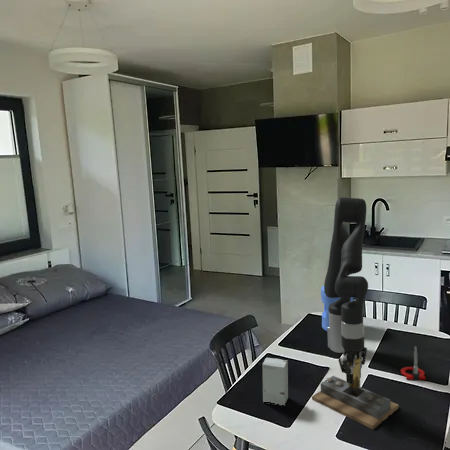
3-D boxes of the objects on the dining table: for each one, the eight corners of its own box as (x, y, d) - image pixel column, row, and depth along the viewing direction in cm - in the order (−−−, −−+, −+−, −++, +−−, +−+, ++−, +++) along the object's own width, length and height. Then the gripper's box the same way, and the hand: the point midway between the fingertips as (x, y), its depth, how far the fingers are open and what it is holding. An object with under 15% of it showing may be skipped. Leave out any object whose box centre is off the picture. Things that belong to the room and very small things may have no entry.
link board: (312, 399, 150) (311, 385, 150) (338, 382, 160) (338, 369, 160) (372, 429, 132) (372, 414, 131) (398, 407, 142) (398, 393, 141)
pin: (344, 385, 145) (343, 358, 144) (352, 379, 148) (351, 353, 147) (356, 390, 142) (355, 363, 140) (364, 384, 145) (363, 358, 143)
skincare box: (263, 403, 150) (260, 364, 148) (267, 394, 156) (265, 356, 154) (286, 406, 147) (284, 367, 145) (289, 397, 153) (287, 359, 151)
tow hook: (398, 369, 168) (404, 380, 159) (398, 338, 166) (404, 347, 157) (420, 369, 166) (428, 380, 157) (420, 338, 165) (428, 347, 156)
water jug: (359, 326, 210) (358, 272, 206) (345, 337, 199) (343, 280, 194) (331, 319, 221) (330, 268, 216) (316, 329, 209) (314, 275, 205)
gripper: (354, 324, 150) (355, 369, 152) (330, 337, 141) (332, 384, 143) (374, 329, 144) (374, 376, 146) (350, 343, 135) (351, 392, 138)
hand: (353, 380), depth 145 cm, fingers closed on pin, 4 cm apart
